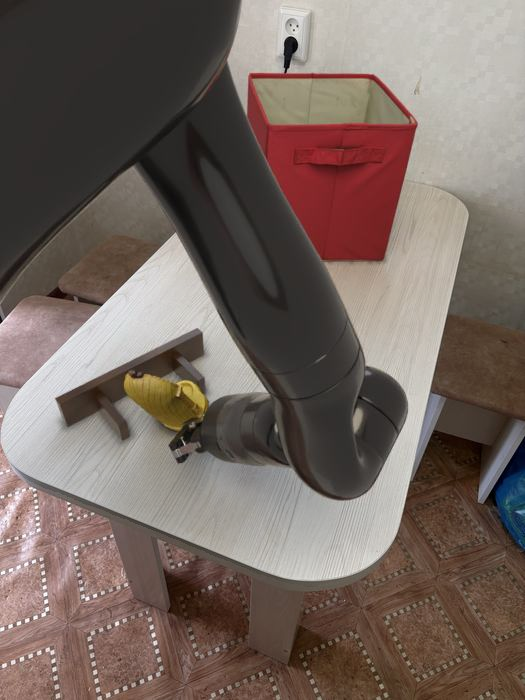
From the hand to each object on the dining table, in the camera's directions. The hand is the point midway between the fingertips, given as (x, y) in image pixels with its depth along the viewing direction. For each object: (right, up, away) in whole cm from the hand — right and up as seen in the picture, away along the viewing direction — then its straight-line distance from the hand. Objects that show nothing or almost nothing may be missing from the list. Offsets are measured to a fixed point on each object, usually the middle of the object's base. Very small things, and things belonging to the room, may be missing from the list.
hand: (189, 427), depth 68 cm
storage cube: (+21, +38, +47) cm, 64 cm away
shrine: (-3, 0, +5) cm, 6 cm away
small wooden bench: (-7, +3, +8) cm, 11 cm away
